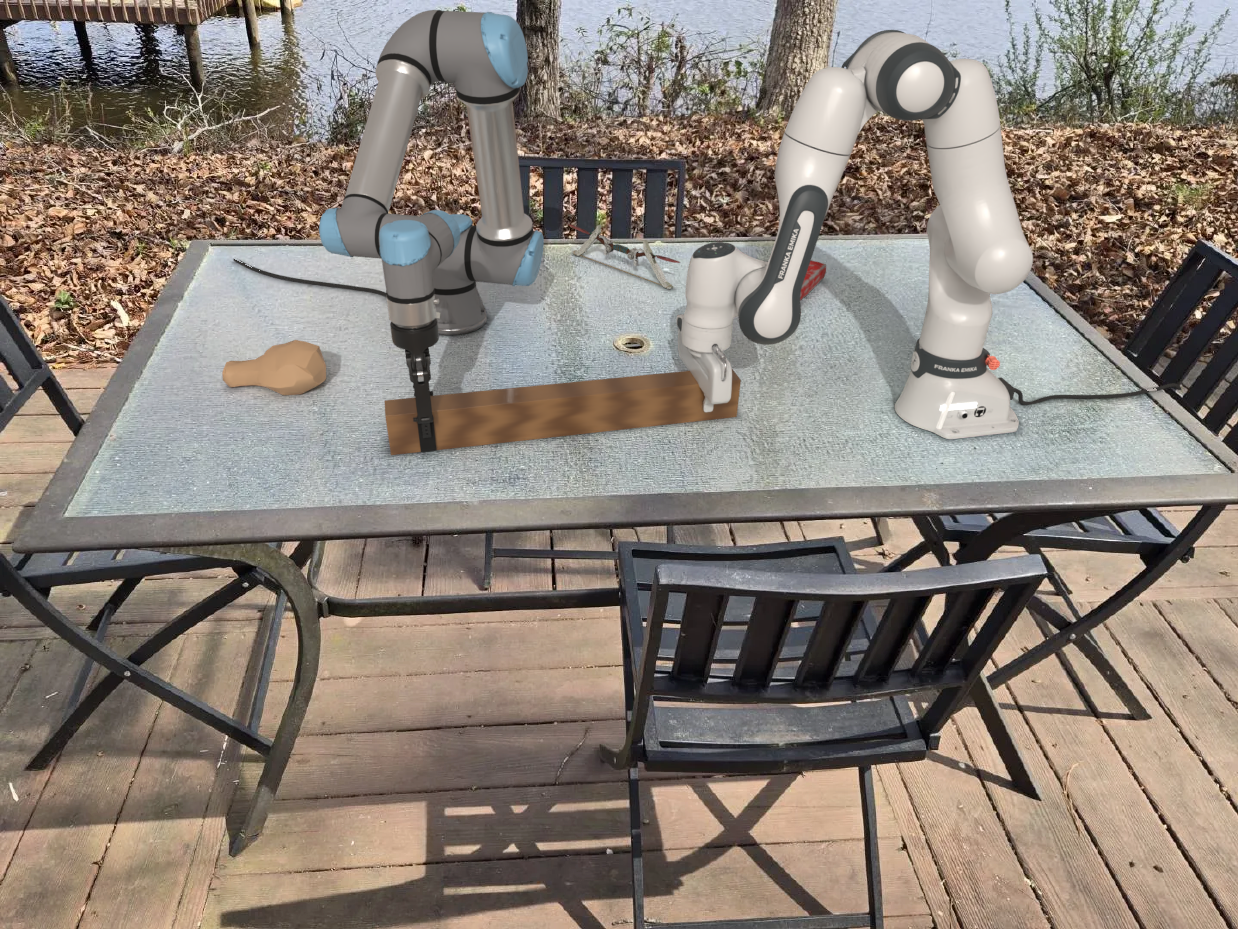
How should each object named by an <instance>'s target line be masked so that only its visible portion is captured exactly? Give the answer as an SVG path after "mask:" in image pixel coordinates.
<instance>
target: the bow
mask: <svg viewBox="0 0 1238 929" xmlns="http://www.w3.org/2000/svg"><path fill="white" fill-rule="evenodd" d="M567 225H568V226H569V227H571V228H573V229H575V230H577V231H579V232H581V233H583V234H585V235H586V234H587V235H589V238H588V239H587V240H586V241H584V243H583V244H581V246H580V248H578V250H577V249H575V250H572V252H571V253H572V254H573V255H574V256H577V257H578V256H579V257H583V258H585V259H588V260H591V261H594V262H596V263H599V264H601V265H605V266H607V267H610V268H613V269H615V270H619V271H621V272H623V273H626V274H629V275H632V276H635V277H637V278H640V279H642V280H645V281H648V282H651V283H654V284H657V285H659V286H662V287H663V288H665V289H667V290H671V289H673V288H674V285H673V284H671V283H670V282H669V281H668V280H667V279H666V276H665V274H664V272H663V270H662V268H661V267H660V265H659V263H658V262H657V260H656V259H659V260H662V261H665V262H669V263H676V264H681V261H679V260H677V259H674V258H670V257H667V256H663V255H660V254H654V252H653V249H652V248H651V246H650V244H649V241H648V240H647V239H645V240H643V241H642V242H643V243H642V244H643V245H642V247H643V248H637V247H636V246H635V247H633V248H629V247H628V246H625V245H622V244H619V243H614V239H608V238H607V237H606V236H604V235H602V234H601V233H602V225H601V224H598V225H596V227H595V229H594V230H593V231H592V232H589V231H588V230H586V229H584V228H581V227H580V226H577V225H574V224H570V223H567ZM597 241H598V242H600V244H602V245H603V246H604V250H603V256H608V255H609V254H610V253H614V251H615V252H619V253H621V254H624V255H627V259H628V260H630V261H633V262H632V263H633V267H638V266H640V264H639V262H640V261H639V258H640V257H641V258H642V257H646V259H647V261H648V262H649V264H650V266H651V268H652V271H653V273H654V274H655V276H656V278H657V280H658V282H659V283H658V282H656V281H653V280H650V279H647V278H645V277H643V276H642V277H641V276H640V275H637V274H633V273H631V272H628V271H626V270H623V269H620V268H618V267H615V266H612V265H609V264H607V263H603V262H601V261H598V260H595V259H593V258H590V257H587V256H584V254H585V253H587V251H588V250H589V249H590V248H591V247H592V245H593V244H595V243H596V242H597Z"/></svg>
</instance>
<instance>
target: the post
mask: <svg viewBox="0 0 1238 929" xmlns="http://www.w3.org/2000/svg"><path fill="white" fill-rule="evenodd" d="M741 383H742V379H741V378H740V377H739V375H738V374H737V373H736V372H735V370H734V368H732V390H731V399H730V400H729V402H728V403H722V404H714V406H713V411H711V412H704V410H703V409H702V400H704V399H705V396H704V393H703V391H702V390H701V388H700V387H699V384H698V382H697V381H696V379H695V378H694V376H693V375H692V373H691V372H690V371H689V370H683V371H682V370H681V371H672V372H663V373H662V372H661V373H653V374H652V373H651V374H641V375H629V376H620V377H611V378H610V377H609V378H602V379H601V378H600V379H592V380H580V381H570V382H560V383H548V384H538V385H528V386H518V387H509V388H508V387H507V388H498V389H488V390H478V391H466V392H457V393H448V394H447V393H446V394H436V395H433V396H430V398H431V407H432V415H433V417H434V420H433V421H434V430H435V440H436V449H437V450H436V451H442V450H451V449H460V448H469V447H478V446H486V445H495V444H497V445H498V444H506V443H514V442H523V441H532V440H533V441H534V440H540V439H549V438H559V437H567V436H568V437H569V436H579V435H586V434H596V433H603V432H612V431H623V430H631V429H639V428H650V427H658V426H666V425H676V424H677V425H678V424H686V423H694V422H704V421H713V420H721V419H722V420H723V419H729V418H730V419H732V418H737V417H738V410H739V409H738V408H739V399H740V392H741ZM383 402H384V417H385V423H386V430H387V438H388V445H389V451H390V456H398V455H406V454H416V453H422V452H421V449H420V441H419V433H418V424H417V422H413V418H415V417H418V416H417V408H416V400H415V397H406V398H404V397H403V398H395V399H386V400H384V401H383Z"/></svg>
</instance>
